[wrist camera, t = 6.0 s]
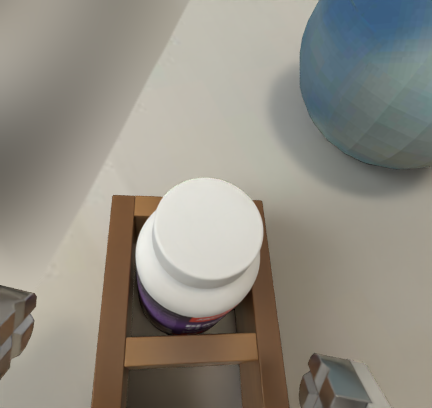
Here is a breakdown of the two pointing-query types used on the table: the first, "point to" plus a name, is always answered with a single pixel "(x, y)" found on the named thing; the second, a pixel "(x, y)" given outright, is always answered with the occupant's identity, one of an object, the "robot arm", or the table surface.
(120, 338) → the rack
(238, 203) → the pill bottle
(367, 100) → the decorative ball
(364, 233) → the table surface
